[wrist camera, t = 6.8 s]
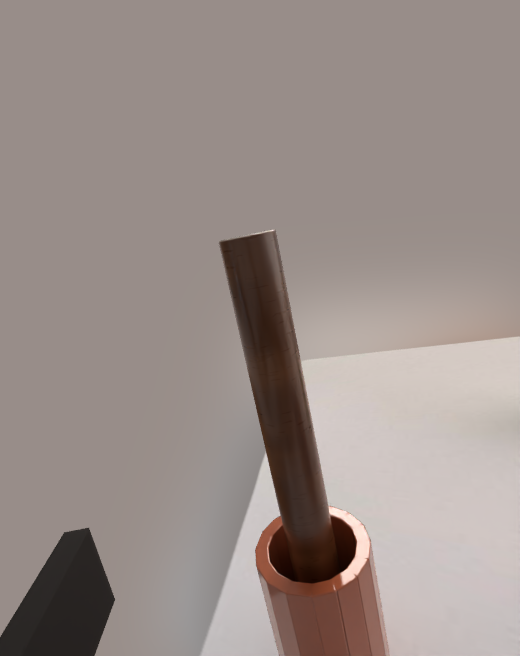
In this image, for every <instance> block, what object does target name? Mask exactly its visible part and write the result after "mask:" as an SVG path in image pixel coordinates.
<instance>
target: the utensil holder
mask: <svg viewBox="0 0 520 656" xmlns="http://www.w3.org/2000/svg"><path fill="white" fill-rule="evenodd" d="M328 507H329V512H330V517H331V522H332V528H333V533H334V538H335V543H336V549H337V554H338V559H339V564H340V569H341V573H339V574H338V575H336V576H335V577H333V578H332V579H330V580H326V581H322V582H317V583H313V584H312V583H303V582H296V581H295V577H294V572H293V568H292V563H291V559H290V554H289V550H288V546H287V541H286V537H285V532H284V528H283V524H282V519H281V516H279V517H278V518H276V519H274V520H273V521H272V522H271V523H270V524H269V525H268V527H267V528H266V529H265V530H264V531H263V532H262V534H261V537H260V539H259V542H258V544H257V546H256V550H255V553H256V566H257V570H258V574H259V578H260V582H261V586H262V590H263V594H264V598H265V602H266V606H267V610H268V614H269V618H270V622H271V626H272V630H273V634H274V638H275V642H276V646H277V650H278V653H279V656H390V654H389V648H388V642H387V636H386V629H385V623H384V617H383V611H382V605H381V599H380V593H379V587H378V581H377V575H376V569H375V563H374V557H373V551H372V545H371V540H370V538H369V535H368V533H367V531H366V529H365V526H364V525H363V524H362V523H361V522H360V521H359V520H357V519H356V518H355V517H354V516H353V515H352V514H350V513H348V512H346V511H343V510H341V509H338V508H335V507H331V506H328Z"/></svg>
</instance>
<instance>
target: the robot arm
mask: <svg viewBox="0 0 520 656" xmlns="http://www.w3.org/2000/svg"><path fill="white" fill-rule="evenodd" d="M114 601H115V598H114V595H113V593H112V590H111V587H110V584H109V582H108V579H107V576H106V574H105V571H104V568H103V566H102V563H101V560H100V557H99V554H98V552H97V549H96V546H95V543H94V541H93V538H92V535H91V533H90V530H89V528H85V529H81V530H75V531H70V532H64V534H63V536H62V537H61V539H60V540H59V542H58V544H57V545H56V547H55V549H54V550H53V552H52V554H51V555H50V557H49V558H48V560H47V562H46V564H45V565H44V567H43V568H42V570H41V571H40V573H39V575H38V576H37V578H36V580H35V581H34V583H33V585H32V586H31V588H30V589H29V591H28V593H27V594H26V596H25V598H24V599H23V601H22V603H21V604H20V606H19V607H18V609H17V611H16V612H15V614H14V616H13V617H12V619H11V620H10V622H9V624H8V626H7V627H6V629H5V630H4V632H3V633H2V635H1V637H0V656H94V655H95V653H96V650H97V647H98V644H99V641H100V639H101V636H102V634H103V631H104V628H105V625H106V623H107V620H108V617H109V614H110V612H111V609H112V606H113V604H114Z"/></svg>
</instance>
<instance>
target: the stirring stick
mask: <svg viewBox="0 0 520 656" xmlns="http://www.w3.org/2000/svg"><path fill="white" fill-rule="evenodd" d="M219 245H220V250H221V254H222V258H223V263H224V267H225V272H226V276H227V281H228V285H229V289H230V294H231V298H232V302H233V307H234V311H235V316H236V320H237V325H238V329H239V333H240V338H241V342H242V347H243V351H244V356H245V360H246V364H247V369H248V373H249V378H250V382H251V386H252V391H253V395H254V400H255V404H256V409H257V413H258V417H259V422H260V426H261V431H262V435H263V440H264V444H265V448H266V453H267V457H268V462H269V466H270V471H271V475H272V479H273V484H274V488H275V493H276V497H277V501H278V506H279V510H280V515H281V519H282V524H283V528H284V532H285V537H286V541H287V546H288V550H289V554H290V559H291V563H292V568H293V572H294V577H295V581H296V582H303V583H312V584H313V583H317V582H322V581H326V580H330V579H332V578H333V577H335V576H336V575H338V574H339V573H341V569H340V564H339V559H338V554H337V549H336V543H335V538H334V533H333V528H332V522H331V517H330V512H329V507H328V502H327V496H326V491H325V486H324V481H323V475H322V470H321V465H320V460H319V454H318V449H317V444H316V439H315V434H314V428H313V423H312V418H311V413H310V407H309V402H308V397H307V392H306V386H305V381H304V376H303V371H302V366H301V360H300V355H299V350H298V345H297V339H296V334H295V329H294V324H293V319H292V313H291V308H290V303H289V298H288V293H287V287H286V282H285V277H284V271H283V266H282V261H281V256H280V251H279V245H278V241H277V235H276V230H269V231H263V232H259V233H253V234H249V235H244V236H239V237H235V238H230V239H226V240H222V241H220V242H219Z"/></svg>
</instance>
